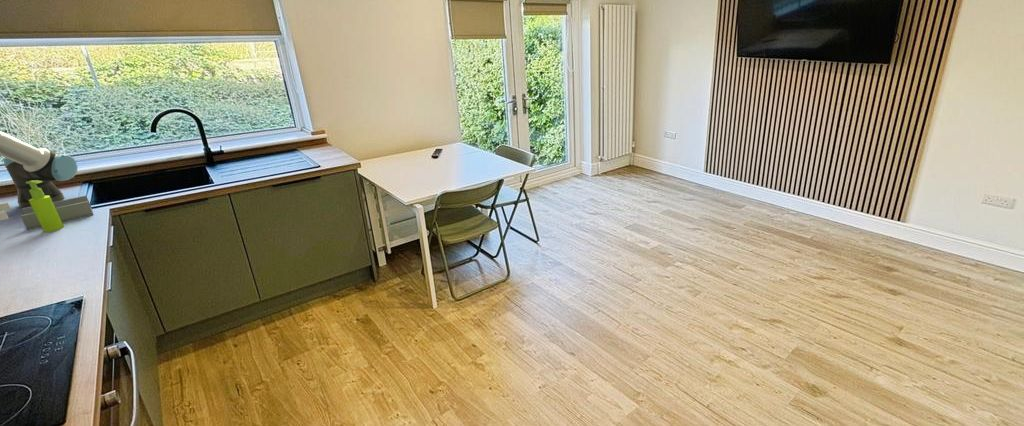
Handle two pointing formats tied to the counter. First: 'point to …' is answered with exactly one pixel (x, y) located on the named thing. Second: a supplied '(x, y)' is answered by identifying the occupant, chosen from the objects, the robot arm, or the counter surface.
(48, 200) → the soap dispenser
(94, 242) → the counter surface
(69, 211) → the gray rectangular tray
